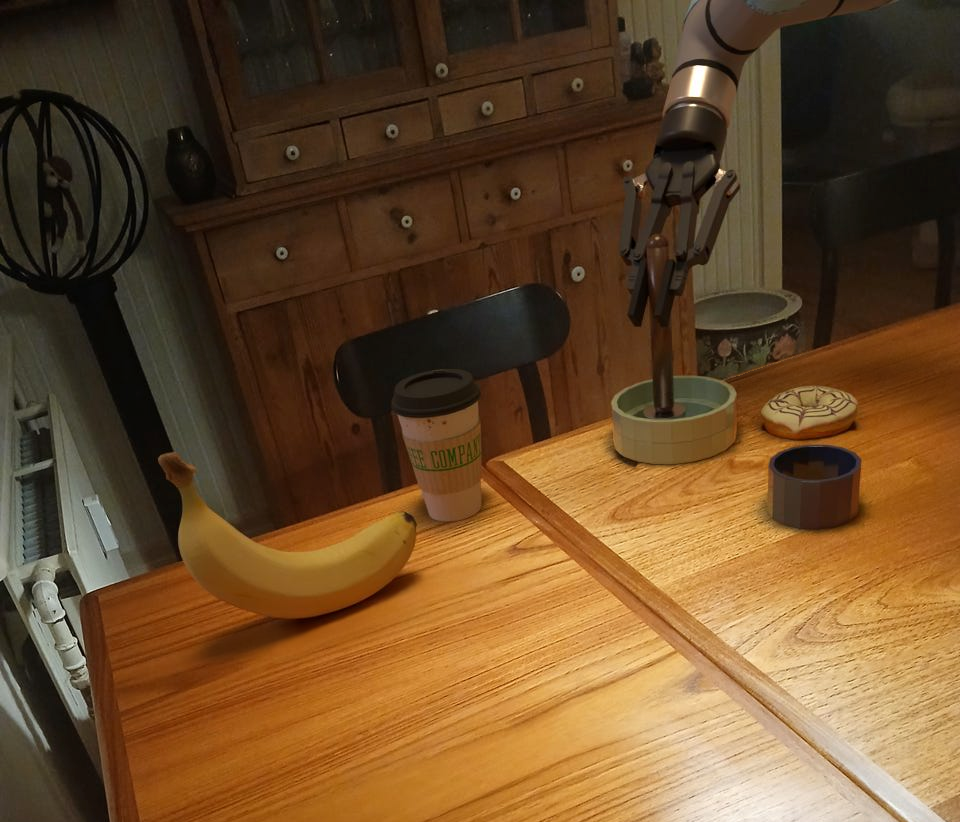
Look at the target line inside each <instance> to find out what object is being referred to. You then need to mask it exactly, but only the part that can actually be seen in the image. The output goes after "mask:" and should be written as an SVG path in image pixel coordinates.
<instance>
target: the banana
mask: <svg viewBox="0 0 960 822" xmlns="http://www.w3.org/2000/svg"><path fill="white" fill-rule="evenodd" d="M157 462H158V464H159V465H160V467H161V469H162V470H163V472H164V473H165V479H166V480H167V481H169V482H171V483H172V484H173V485H174V486H175V487H176V488H177V489H178V491H179V493H180V496H181V502H182V513H181V518H180V523H179V527H178V532H177V533H178V537H177V542H178V543H177V544H178V549H179V554H180V557H181V559H182V561H183V564H184V565H185V567H186V569H187V571H188V572H189V574H190V575H191V577H192V578H193V579H194V581H196V582H197V583H198V585H199V586H200V587H202V589H204V590H205V591H206V592H207V593H209V594H210V595H211V596H213V597H214V598H216V599H218V600H220V601H221V602H223V603H225V604H227V605H229V606H232V607H233V608H237V609H240V610H242V611H246V612H250V613H253V614H257V615H261V616H264V617H265V616H266V617H269V618H275V619H277V618H278V619H287V620H289V619H291V620H292V619H293V620H294V619H307V618H313V617H319V616H323V615H326V614H329V613H333V612H336V611H339V610H342V609H345V608H348V607H350V606H354V605H356V604H357V603H360V602H362V601H364V600H366V599H368V598H370V597H371V596H373V595H374V594H376V593H377V592H379V591H380V590H382V589H383V588H384V587H386V586H387V585H388V584H390V583H391V582H392V581H393V580H394V579H395V578H396V577H397V576H398V575H399V574H400V573H401V572H402V570H403V569H405V566H406V565H407V563H408V562H409V560H410V558H411V556H412V554H413V551H414V549H415V546H416V542H417V534H418V533H417V527H418V524H417V523H418V522H417V521H416V519H415V516H413V514H410V513H408V512H407V511H404V510H401V511H397V512H395V513H393V514H391V515H389V516H386V517H384V518H382V519H380V520H378V521H376V522H374V523H373V524H371V525H369V526H367V527H366V528H364V529H362V530H361V531H359V532H358V533H356V534H353V535H352V536H350V537H349V538H347V539H344V540H342V541H339V542H338V543H335V544H331V545H330V546H329V545H328V546H326V547H322V548H319V549H314V550H308V551H285V550H284V551H283V550H278V549H275V548H272V547H268V546H266V545H263V544H260V543H258V542H257V541H254V540H252V539H251V538H249V537H248V536H246V535H244V534H243V533H242V532H240V531H239V530H238V529H236V528H235V527H234V526H233V525H231V524H230V523H229V522H228V521H227V520H225V519H224V518H223V517H221V516H220V515H219V514H217V513H215V511H214V510H212V509H210V508H209V506H208V505H207V504H206V502H205V501H204V500H203V498H202V497H201V495H200V494H199V492H198V491H197V489H196V487H195V483H194V474H196V472H197V468H196V467H195V466H194V465H192V464H190V463H187V462H185V461H184V460H183V459H182V457H180V454H178V453H177V452H175V451H172V452H165V453H163V454H160V455H159V456H158V458H157Z"/></svg>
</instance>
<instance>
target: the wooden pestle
mask: <svg viewBox="0 0 960 822" xmlns="http://www.w3.org/2000/svg"><path fill="white" fill-rule="evenodd" d="M669 243H670V242H669V239H668V238H667V236H666V235H664V234H663V233H661V234H654V235H652V236H651V237H650V238H649V239H648V241H647V244H646V251H647V273H648V294H649V296H648V314H649V315H648V316H649V333H650V352H651V353H650V355H651V375H652V376H651V379H652V380H653V401H654V405H651V406H649V407H647V408H645V409H644V411H643V418H646V419H654V420H671V419H679V418H686V408H685V407H684V406H683V405H681V404H678V403H674V383H673V376H674V359H673V357H674V356H673V354H674V353H673V330H672V329H673V327H672V314H671V315H670V319H669V323H668V327H661V326H660V325H659V323H658V321H657V320H656V318H655V316H654V313H655V309H656V305H657V301H658V296H659V292H660V288H661V284H662V280H663V276H664V271H665V267H666V263H667V259H670V244H669Z"/></svg>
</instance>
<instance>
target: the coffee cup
mask: <svg viewBox="0 0 960 822" xmlns="http://www.w3.org/2000/svg"><path fill="white" fill-rule="evenodd" d="M481 398H482V390H481V387H480V385H479V384H478V383H477V382H475V379H474V377H473V374H472V373H470V372H469V371H467V370H463V369H457V368H442V369H441V368H440V369H432V370H426V371H423V372H419V373H416V374H412V375H410V376H408V377H406V378H404V379H402V380H400V381H399V382H398V383H397V384H396V385H395V386H394V390H393V397H392V399H391V407H390V409H391V411H392V412H393V413H394V414H395V415H397V418H398V422H399V424H400V427H401V435H402V439H403V442H404V444H405V447H406V451H407V453H408V457H409V460H410V462H411V466H412V470H413V472H414V476H415V478H416V481H417V485H418V488H419V489H420V491H421V494H422V497H423V500H424V503H425V507H426V510H427V512H428V515H429V517H430V518H431V519H433V520H435V521H439V522H446V523H447V522H458V521H463V520H465V519H469V518H471V517H473V516H475V515H477V513H479V512H480V510H481V509H482V505H483V504H482V503H483V501H482V478H483V463H482V431H481V430H482V428H481V418H480V416H479V400H480V399H481Z"/></svg>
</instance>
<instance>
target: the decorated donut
mask: <svg viewBox="0 0 960 822" xmlns="http://www.w3.org/2000/svg"><path fill="white" fill-rule="evenodd" d="M760 416H761V418H762V420H763V425H764V428H765V429H766V431H767V432H768V433H769V434H770V435H772V436H775V437H778V438H783V439H789V440H810V439H820V438H825V437H827V438H828V437H830V436H831V437H832V436H836V435H838V434H841V433H842V432H846V431H847V430H849V428H851V426H852V425H853V423H854V422H855V419H856V418H857V416H858V400H857V399H856V398H855V397H854V396H853V394H850V393H849V392H846V391H843V390H841V389H838V388H834V387H829V386H823V385H805V386H799V387H793V388H791V389H788V390H786V391H783V392H780V393H778V394H776V395H775V396H774V397H772V398H771V399H769V400H768V402H766V404H764V405H763V407H762V409H761V410H760Z"/></svg>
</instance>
